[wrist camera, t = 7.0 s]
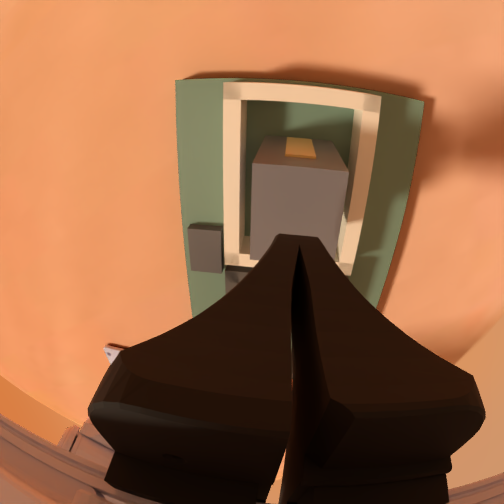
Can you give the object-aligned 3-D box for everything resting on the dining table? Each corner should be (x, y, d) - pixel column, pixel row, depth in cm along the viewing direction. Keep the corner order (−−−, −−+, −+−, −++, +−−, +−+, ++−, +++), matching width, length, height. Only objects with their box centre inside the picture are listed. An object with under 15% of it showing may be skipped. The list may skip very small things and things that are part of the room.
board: (353, 355, 24) (356, 383, 22) (200, 340, 26) (191, 368, 23) (417, 100, 14) (440, 105, 11) (181, 79, 15) (160, 81, 12)
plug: (323, 210, 17) (333, 266, 12) (262, 205, 17) (249, 259, 13) (331, 139, 15) (349, 169, 10) (265, 133, 15) (252, 160, 11)
